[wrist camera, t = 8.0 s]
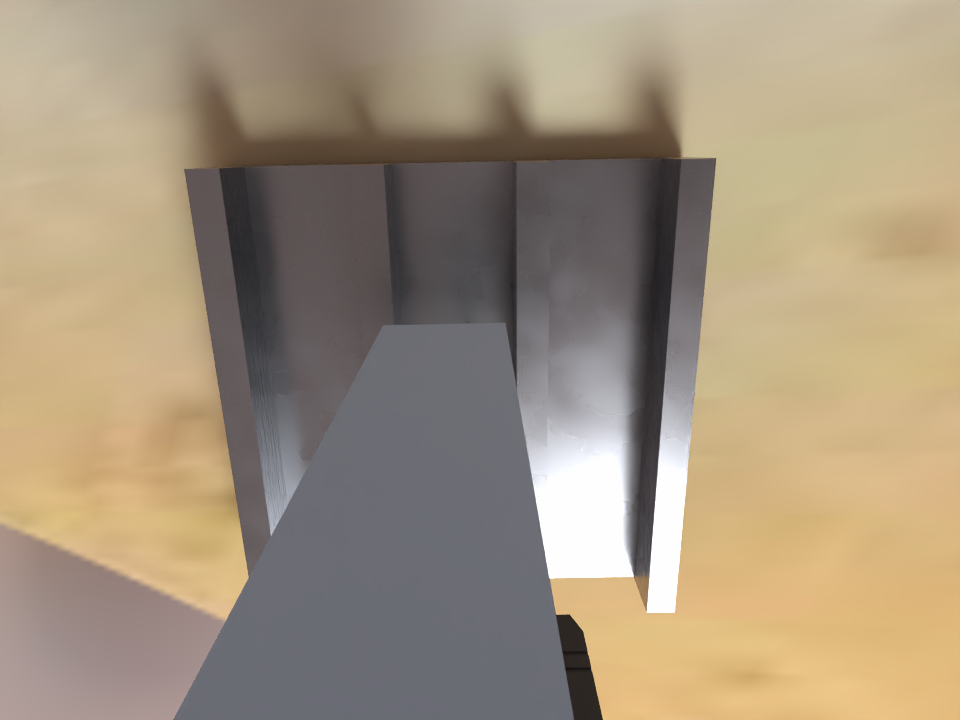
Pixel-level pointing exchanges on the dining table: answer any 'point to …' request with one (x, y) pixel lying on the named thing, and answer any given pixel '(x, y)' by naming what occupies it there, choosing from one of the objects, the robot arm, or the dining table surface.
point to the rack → (473, 299)
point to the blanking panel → (402, 557)
